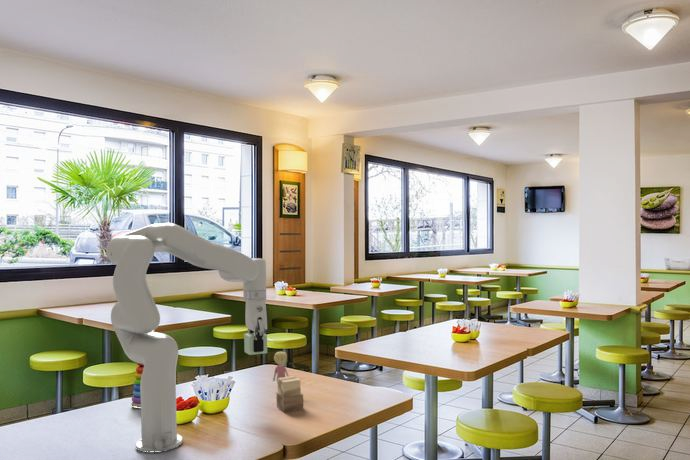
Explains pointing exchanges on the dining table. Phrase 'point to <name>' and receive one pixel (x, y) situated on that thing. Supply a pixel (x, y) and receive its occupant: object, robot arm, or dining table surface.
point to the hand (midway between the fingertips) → (255, 349)
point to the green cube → (250, 344)
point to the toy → (280, 365)
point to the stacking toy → (137, 386)
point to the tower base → (289, 403)
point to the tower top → (289, 386)
